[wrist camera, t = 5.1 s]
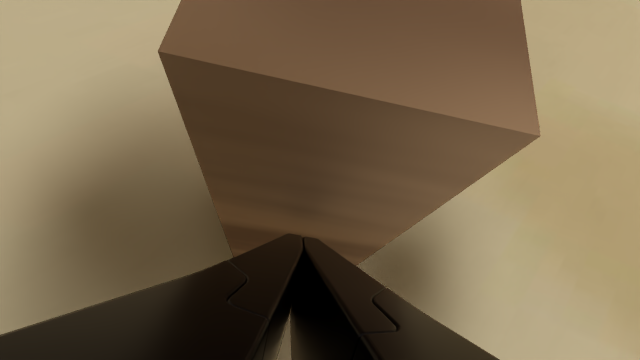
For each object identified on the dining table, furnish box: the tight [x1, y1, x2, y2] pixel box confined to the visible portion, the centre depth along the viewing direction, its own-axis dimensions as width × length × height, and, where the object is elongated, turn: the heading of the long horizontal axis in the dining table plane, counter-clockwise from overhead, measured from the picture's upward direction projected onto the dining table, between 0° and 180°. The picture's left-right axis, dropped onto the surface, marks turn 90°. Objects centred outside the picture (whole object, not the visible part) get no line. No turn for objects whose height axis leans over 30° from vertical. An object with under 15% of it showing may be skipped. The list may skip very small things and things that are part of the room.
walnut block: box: [158, 0, 540, 266], centre depth 12 cm, size 5×5×14 cm
